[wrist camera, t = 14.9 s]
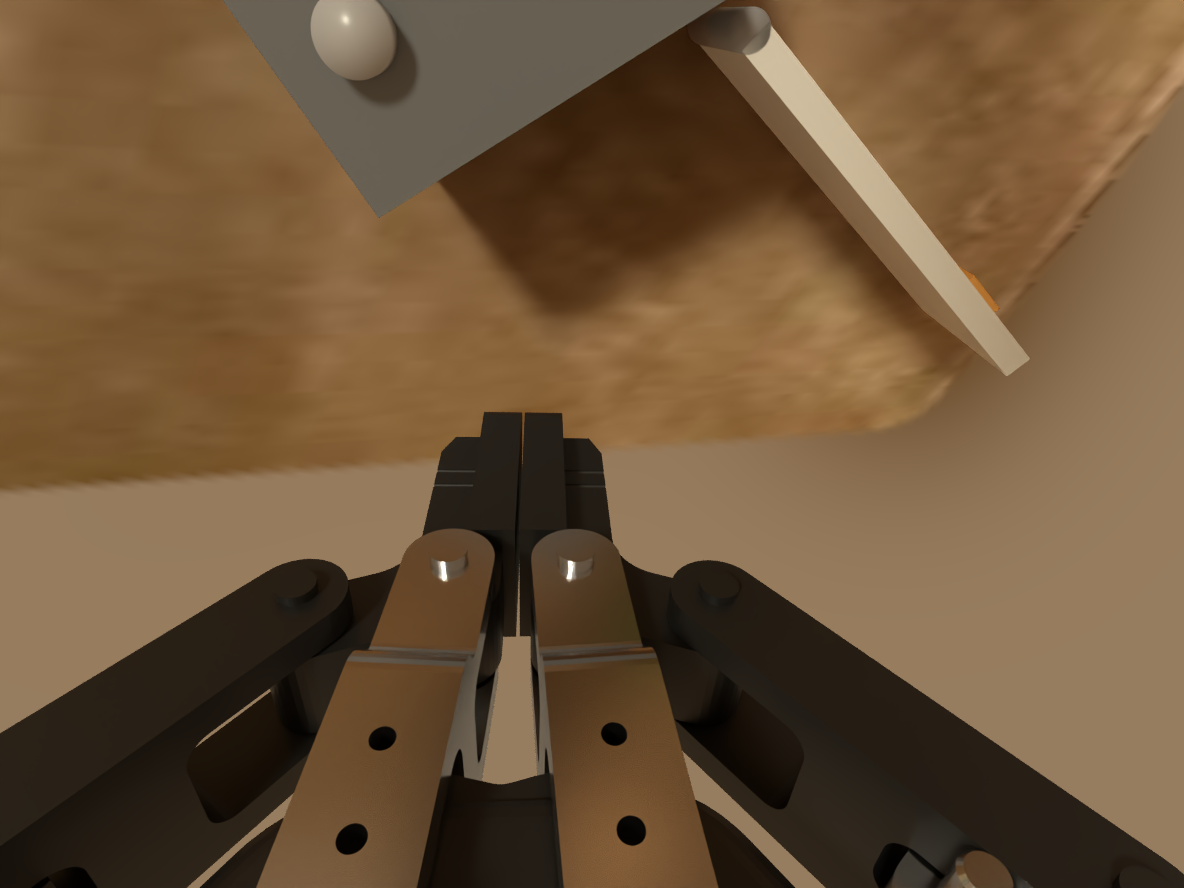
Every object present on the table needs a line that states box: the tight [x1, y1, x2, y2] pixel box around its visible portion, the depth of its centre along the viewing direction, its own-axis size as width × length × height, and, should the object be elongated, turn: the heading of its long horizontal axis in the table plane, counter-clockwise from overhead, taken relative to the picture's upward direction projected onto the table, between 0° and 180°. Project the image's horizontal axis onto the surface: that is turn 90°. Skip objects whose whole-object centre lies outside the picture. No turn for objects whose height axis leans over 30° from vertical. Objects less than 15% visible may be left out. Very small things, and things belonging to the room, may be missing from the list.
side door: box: [687, 6, 1030, 376], centre depth 26 cm, size 17×2×7 cm, turn 47°
